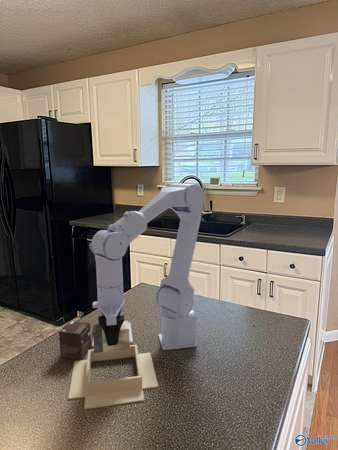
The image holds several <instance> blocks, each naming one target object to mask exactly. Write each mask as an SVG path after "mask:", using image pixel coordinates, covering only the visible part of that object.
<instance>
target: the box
mask: <svg viewBox="0 0 338 450" xmlns="http://www.w3.org/2000/svg"><path fill="white" fill-rule="evenodd" d="M58 337H59V338H58V340H59V352H60V358H62V359H70V360H78V361H81V360H84V358H85V357H86V355H88V350H91V349H92V333H91V323H90V322H82V321H81V322H80V321H74V320H73V321H72V320H71V321H68V323H67V324H65V325H64V326H63V328H61V330H59V331H58Z"/></svg>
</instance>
